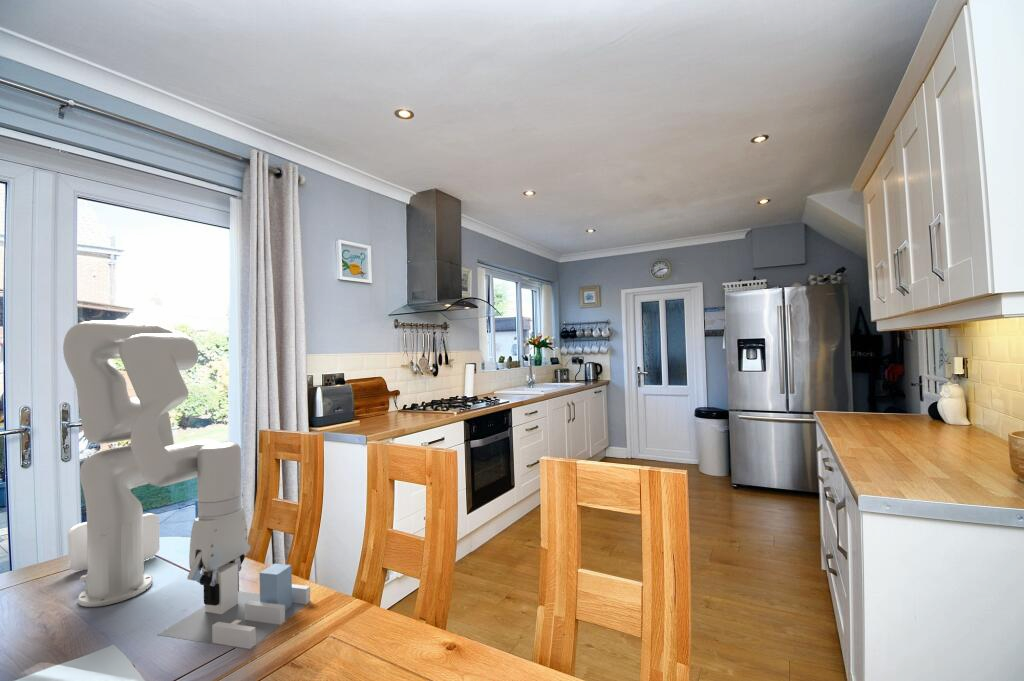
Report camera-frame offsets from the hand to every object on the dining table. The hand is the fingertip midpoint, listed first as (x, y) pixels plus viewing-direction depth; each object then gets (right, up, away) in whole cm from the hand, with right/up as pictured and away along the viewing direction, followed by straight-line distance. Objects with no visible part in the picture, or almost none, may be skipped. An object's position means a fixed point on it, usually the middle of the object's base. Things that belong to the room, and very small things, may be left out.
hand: (221, 596), depth 95 cm
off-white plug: (0, -2, 0) cm, 2 cm away
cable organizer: (-41, -5, +24) cm, 48 cm away
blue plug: (+12, -2, -1) cm, 12 cm away
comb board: (+5, -3, -3) cm, 7 cm away
